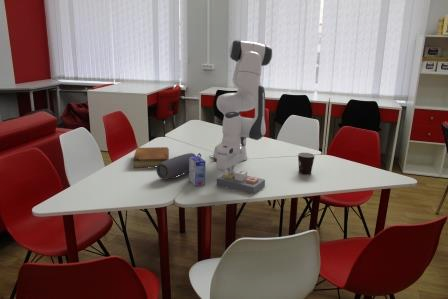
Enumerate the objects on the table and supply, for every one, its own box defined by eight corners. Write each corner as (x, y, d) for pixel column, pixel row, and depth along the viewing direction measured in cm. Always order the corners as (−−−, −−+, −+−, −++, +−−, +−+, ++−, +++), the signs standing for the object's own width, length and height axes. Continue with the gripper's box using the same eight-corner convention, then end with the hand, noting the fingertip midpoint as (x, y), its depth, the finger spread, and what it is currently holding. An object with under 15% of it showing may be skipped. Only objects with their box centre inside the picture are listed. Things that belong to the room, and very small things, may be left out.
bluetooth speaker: (185, 168, 208) (185, 150, 205) (198, 171, 203) (199, 153, 200) (155, 179, 190) (155, 160, 188) (169, 183, 185) (169, 164, 182)
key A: (223, 183, 186) (223, 174, 185) (228, 180, 190) (228, 171, 189) (231, 185, 184) (231, 175, 183) (235, 182, 188) (236, 173, 187)
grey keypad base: (216, 185, 184) (216, 178, 183) (228, 178, 194) (229, 171, 193) (253, 194, 174) (254, 187, 173) (264, 186, 184) (265, 179, 183)
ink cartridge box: (205, 185, 184) (206, 156, 180) (194, 186, 182) (195, 157, 178) (199, 178, 193) (199, 151, 189) (188, 179, 191) (188, 152, 187)
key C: (245, 188, 181) (245, 179, 179) (249, 185, 184) (250, 176, 183) (253, 190, 178) (254, 180, 177) (257, 187, 182) (258, 178, 181)
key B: (234, 181, 183) (234, 172, 182) (239, 178, 186) (239, 169, 185) (242, 183, 181) (243, 173, 179) (247, 180, 184) (247, 171, 183)
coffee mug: (313, 176, 200) (314, 157, 198) (296, 174, 202) (298, 156, 199) (312, 169, 211) (314, 151, 208) (297, 167, 213) (298, 150, 210)
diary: (168, 168, 208) (168, 158, 206) (133, 169, 206) (133, 159, 204) (168, 156, 230) (168, 146, 228) (137, 156, 227) (136, 147, 226)
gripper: (235, 140, 192) (235, 167, 196) (214, 150, 175) (214, 178, 179) (247, 142, 189) (246, 169, 193) (226, 152, 172) (225, 181, 176)
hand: (230, 173), depth 186 cm, fingers closed, pressing on key A
